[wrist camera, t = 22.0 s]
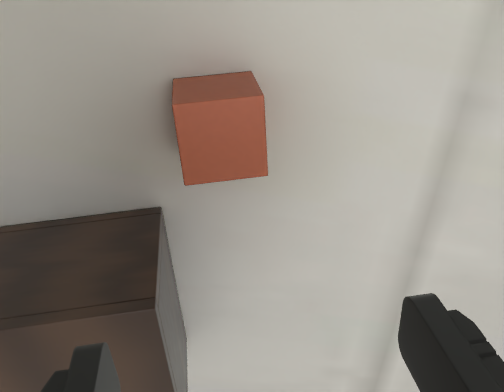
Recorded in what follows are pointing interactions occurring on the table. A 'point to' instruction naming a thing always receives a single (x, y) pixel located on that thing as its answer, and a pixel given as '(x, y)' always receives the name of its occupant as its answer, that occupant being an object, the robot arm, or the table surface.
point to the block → (220, 127)
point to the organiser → (91, 300)
